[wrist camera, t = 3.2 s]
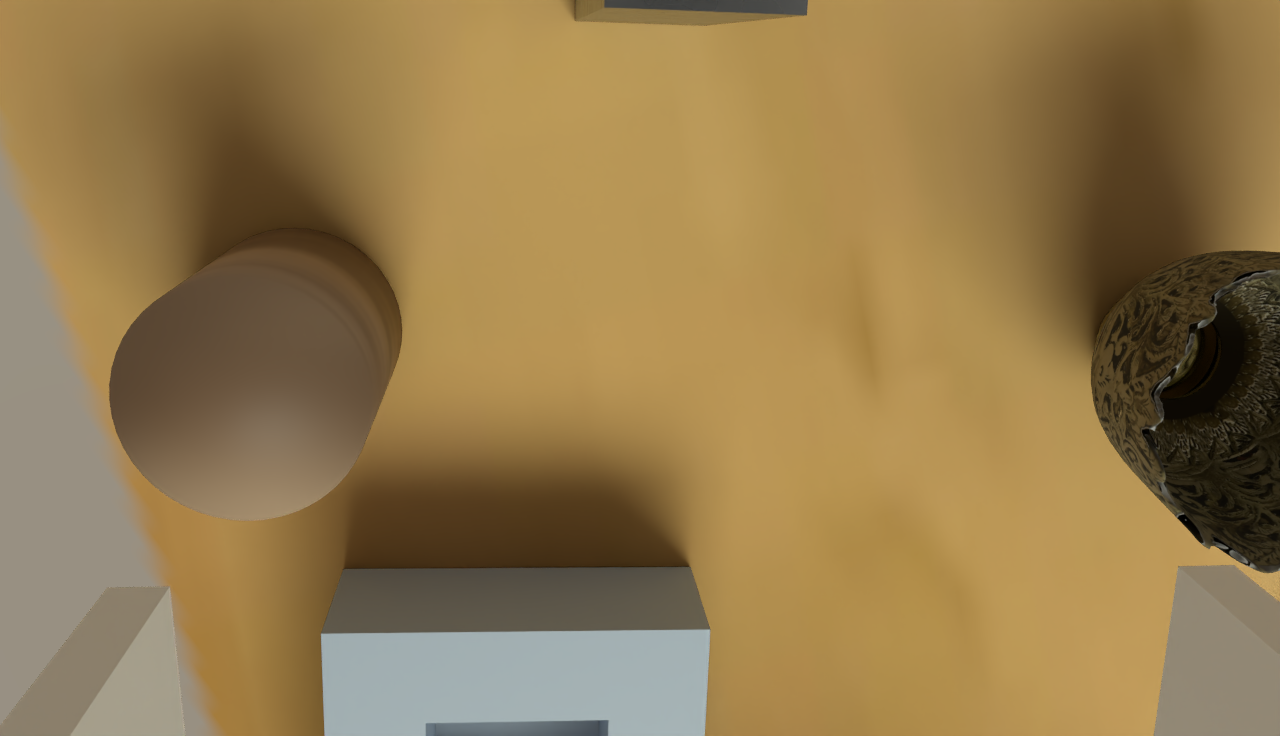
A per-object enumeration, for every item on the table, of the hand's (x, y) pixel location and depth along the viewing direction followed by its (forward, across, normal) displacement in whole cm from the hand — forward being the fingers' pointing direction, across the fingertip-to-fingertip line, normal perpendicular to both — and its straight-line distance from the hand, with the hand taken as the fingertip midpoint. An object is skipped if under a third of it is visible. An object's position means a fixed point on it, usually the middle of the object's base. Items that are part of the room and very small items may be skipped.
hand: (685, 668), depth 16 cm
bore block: (+18, -3, -12) cm, 22 cm away
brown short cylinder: (+18, -9, 0) cm, 20 cm away
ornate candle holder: (+19, +15, -1) cm, 25 cm away
